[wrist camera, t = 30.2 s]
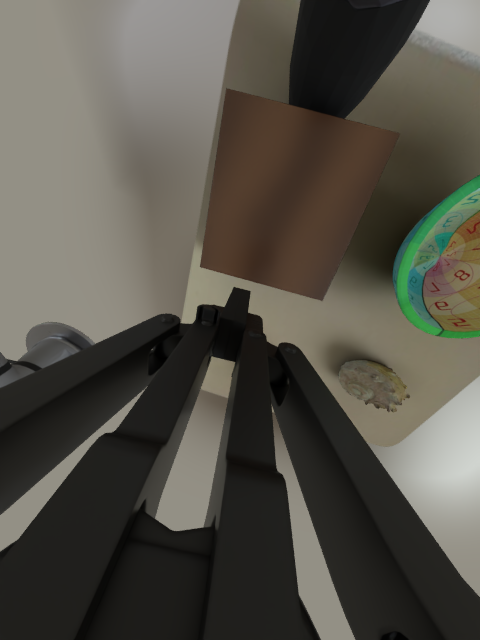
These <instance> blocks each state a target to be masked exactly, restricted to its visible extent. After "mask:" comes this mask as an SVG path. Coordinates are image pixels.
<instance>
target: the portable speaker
mask: <svg viewBox="0 0 480 640" xmlns="http://www.w3.org/2000/svg"><path fill="white" fill-rule="evenodd" d="M429 1H430V0H301V2H300V8H299V14H298V20H297V27H296V33H295V39H294V45H293V51H292V57H291V63H290V83H289V105H293V106H296V107H300V108H304V109H308V110H312V111H316V112H320V113H323V114H327V115H331V116H335V117H339V118H343V119H344V118H345V117H346V116H347V115H348V114H349V113H350V112H351V111H352V110H353V109H354V108H355V107H356V106H357V105H358V104H359V103H360V102H361V101H362V100H363V99H364V97H365V96H366V95H367V93H368V92H369V91H370V89H371V88H372V87H373V85H374V84H375V83H376V82H377V80H378V79H379V78H380V76H381V75H382V74H383V72H384V71H385V70H386V68H387V67H388V66H389V64H390V63H391V62H392V60H393V59H394V58H395V56H396V55H397V54H398V52H399V51H400V50H401V48H402V47H403V46H404V44H405V43H406V41H407V39H408V38H409V36H410V35H411V33H412V31H413V30H414V28H415V27H416V25H417V23H418V22H419V20H420V18H421V16H422V14H423V13H424V11H425V9H426V7H427V5H428V3H429Z"/></svg>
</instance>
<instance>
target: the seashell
mask: <svg viewBox="0 0 480 640" xmlns="http://www.w3.org/2000/svg"><path fill="white" fill-rule="evenodd" d="M340 367H341V369H340V370H339V374H338V376H339V382H340V384H341V385H342V387H343V388H344V389H345V390H346V391H347V392H348V393H349V394H350V395H353V396H355V397H357V399H359V400H364V401H365V404H366V405H367V404H368V403H372V404H374V406H375V407H376V408H378V409H379V408H383V409H385V408H386V409H387V411H388V412H390V410H391V411H392V412H396V411H397V409H396V408H395V405H402V403H401V401H402V400H405V399H404V398H410V396H409V395H408V394H407V393H406V391H405V389H407V386H406V385H404V384H403V383H402V381H401V379H400V378H399V377H398V376H397V375H396V373H395V372H393V371H392V369H390V368H386V367H385V366H383V365H380V364H378V363H375V362H372V361H367V360H355V361H351V362H345V364H344V365H342V366H340Z"/></svg>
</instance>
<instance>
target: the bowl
mask: <svg viewBox="0 0 480 640" xmlns="http://www.w3.org/2000/svg"><path fill="white" fill-rule="evenodd" d="M393 284H394V289H395V293H396V297H397V300H398V304H399V306H400V308H401V310H402V312H403V314H404V315H405V316H406V318H407V319H408V320H409V321H410V322H411V323H412V324H413V325H414V326H416V327H417V328H419V329H421V330H422V331H424V332H426V333H429V334H432V335H435V336H440V337H446V338H471V337H479V336H480V175H478V176H477V177H475V178H474V179H472V180H470V181H469V182H467V183H466V184H464V185H463V186H461V187H460V188H458V189H457V190H456V191H455V192H453V193H452V194H451V195H449V196H448V197H447V198H446V199H444V200H443V201H442V202H440V203H439V204H438V205H437V206H436V207H434V208H433V209H432V210H431V211H430V212H429V213H427V214H426V215H425V216H424V217H423V218H422V219H421V220H420V221H419V222H418V223H417V224H416V225H415V226H414V228H413V229H412V230H411V231H410V232H409V234H408V235H407V236H406V238H405V240H404V241H403V243H402V244H401V246H400V248H399V250H398V252H397V255H396V258H395V262H394V267H393Z"/></svg>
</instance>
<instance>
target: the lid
mask: <svg viewBox="0 0 480 640" xmlns="http://www.w3.org/2000/svg"><path fill="white" fill-rule="evenodd" d="M399 135H400V133H396V132H393V131H389V130H385V129H381V128H377V127H373V126H369V125H366V124H362V123H358V122H354V121H350V120H346V119H343V118H339V117H335V116H331V115H327V114H323V113H320V112H316V111H312V110H308V109H304V108H300V107H296V106H293V105H289V104H285V103H281V102H277V101H273V100H270V99H266V98H262V97H258V96H254V95H250V94H247V93H243V92H239V91H235V90H231V89H227V88H226V94H225V101H224V108H223V114H222V121H221V128H220V135H219V141H218V148H217V155H216V162H215V169H214V175H213V182H212V189H211V196H210V202H209V209H208V216H207V223H206V230H205V236H204V243H203V250H202V257H201V264H200V267H202V268H205V269H209V270H213V271H216V272H220V273H224V274H227V275H231V276H234V277H238V278H242V279H245V280H249V281H252V282H256V283H260V284H263V285H267V286H271V287H274V288H278V289H281V290H285V291H289V292H292V293H296V294H300V295H303V296H307V297H310V298H314V299H318V300H321V301H323V299H324V297H325V295H326V292H327V290H328V288H329V286H330V284H331V282H332V279H333V277H334V275H335V273H336V271H337V269H338V267H339V264H340V262H341V260H342V258H343V256H344V254H345V251H346V249H347V247H348V245H349V243H350V241H351V239H352V236H353V234H354V232H355V230H356V228H357V226H358V223H359V221H360V219H361V217H362V215H363V213H364V211H365V208H366V206H367V204H368V202H369V200H370V198H371V195H372V193H373V191H374V189H375V187H376V185H377V182H378V180H379V178H380V176H381V174H382V172H383V170H384V167H385V165H386V163H387V161H388V159H389V157H390V154H391V152H392V150H393V148H394V146H395V144H396V142H397V139H398V137H399Z"/></svg>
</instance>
